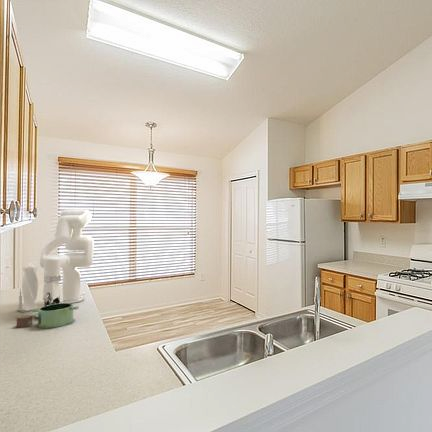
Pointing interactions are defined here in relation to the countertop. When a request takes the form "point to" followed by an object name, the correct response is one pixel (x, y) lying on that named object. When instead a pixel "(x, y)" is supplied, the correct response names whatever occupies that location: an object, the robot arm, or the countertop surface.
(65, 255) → the robot arm
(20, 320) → the block
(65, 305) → the pot
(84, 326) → the countertop surface
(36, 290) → the skyscraper
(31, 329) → the countertop surface
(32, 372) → the countertop surface
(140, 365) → the countertop surface
